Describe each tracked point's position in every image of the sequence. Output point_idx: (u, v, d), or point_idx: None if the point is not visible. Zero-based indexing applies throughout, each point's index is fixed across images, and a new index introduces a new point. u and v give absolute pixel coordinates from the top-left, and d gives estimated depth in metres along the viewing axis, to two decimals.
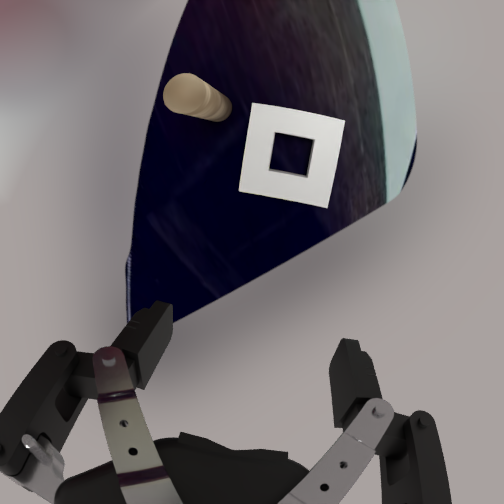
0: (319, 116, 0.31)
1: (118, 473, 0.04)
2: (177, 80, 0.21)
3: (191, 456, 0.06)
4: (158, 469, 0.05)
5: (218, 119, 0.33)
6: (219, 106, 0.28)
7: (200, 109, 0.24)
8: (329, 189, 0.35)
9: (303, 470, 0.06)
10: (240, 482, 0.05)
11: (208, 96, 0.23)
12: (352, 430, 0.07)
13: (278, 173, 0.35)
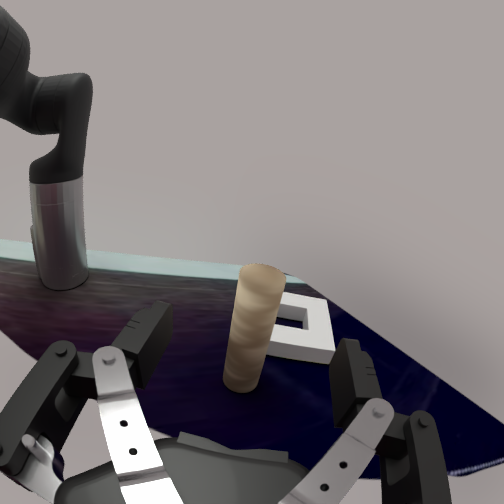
0: None
1: (118, 473, 0.04)
2: (247, 276, 0.23)
3: (191, 456, 0.06)
4: (158, 469, 0.05)
5: None
6: None
7: None
8: (311, 298, 0.43)
9: (303, 470, 0.06)
10: (240, 482, 0.05)
11: None
12: (352, 430, 0.07)
13: (309, 324, 0.37)
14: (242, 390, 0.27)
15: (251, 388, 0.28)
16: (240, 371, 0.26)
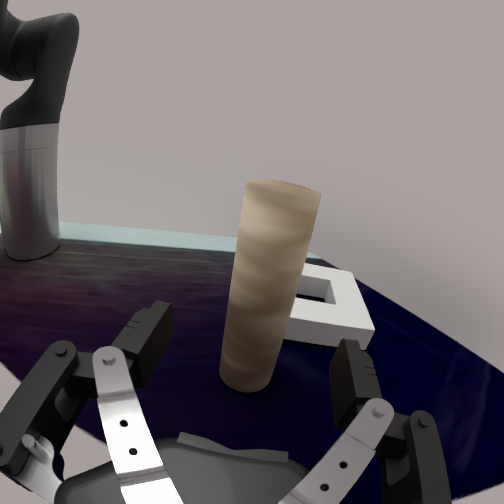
0: None
1: (118, 473, 0.04)
2: (258, 184, 0.14)
3: (191, 456, 0.06)
4: (158, 469, 0.05)
5: None
6: None
7: None
8: (333, 269, 0.34)
9: (303, 470, 0.06)
10: (240, 482, 0.05)
11: None
12: (352, 430, 0.07)
13: (336, 297, 0.28)
14: (249, 388, 0.18)
15: (262, 385, 0.18)
16: (246, 357, 0.17)
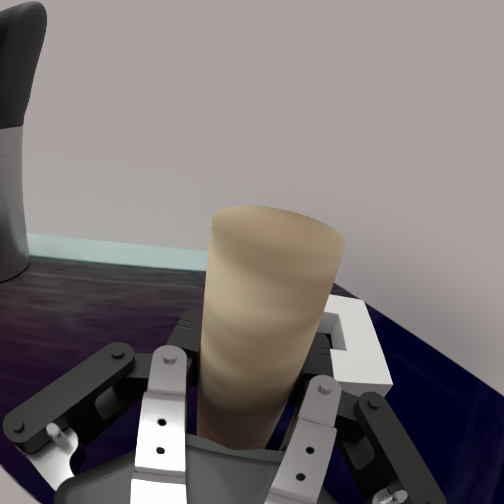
0: None
1: (136, 466, 0.05)
2: (233, 225, 0.08)
3: (191, 456, 0.06)
4: (178, 474, 0.05)
5: None
6: None
7: None
8: (342, 297, 0.28)
9: None
10: (240, 482, 0.05)
11: None
12: (305, 413, 0.07)
13: (346, 340, 0.21)
14: None
15: None
16: None
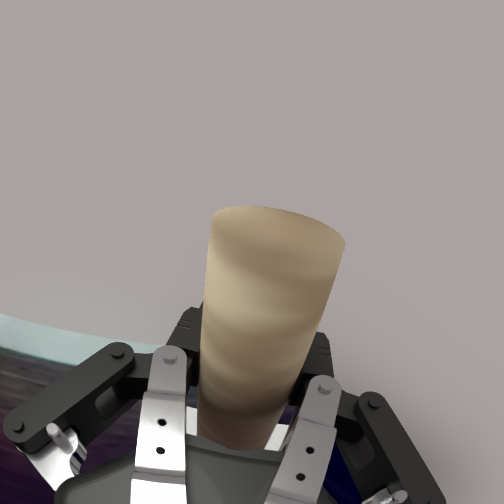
0: None
1: (137, 466, 0.05)
2: (232, 226, 0.08)
3: (191, 456, 0.06)
4: (178, 474, 0.05)
5: None
6: None
7: None
8: None
9: None
10: (240, 482, 0.05)
11: None
12: (305, 413, 0.07)
13: None
14: None
15: None
16: None
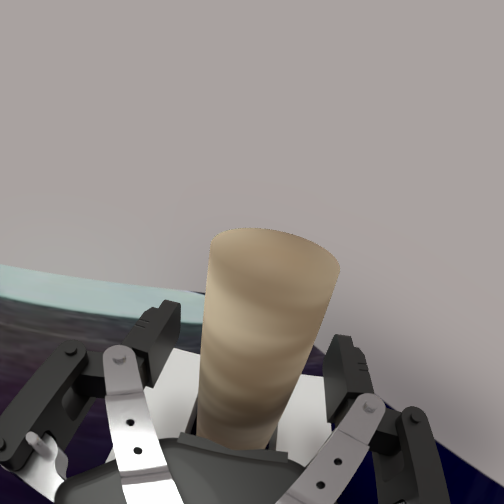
0: None
1: (121, 471, 0.04)
2: (230, 253, 0.08)
3: (191, 456, 0.06)
4: (162, 470, 0.05)
5: None
6: None
7: None
8: None
9: (303, 470, 0.06)
10: (240, 482, 0.05)
11: None
12: (344, 426, 0.07)
13: None
14: None
15: None
16: None
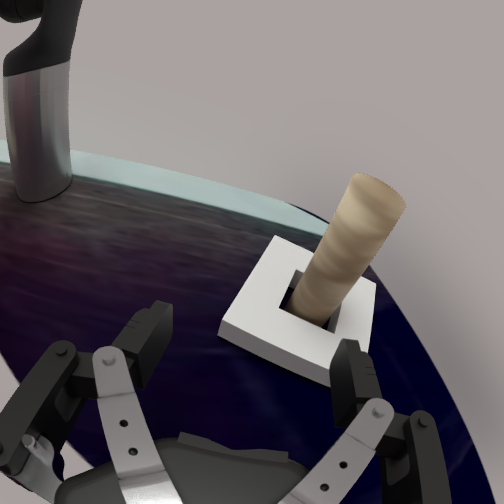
0: (266, 254, 0.27)
1: (118, 473, 0.04)
2: (362, 186, 0.16)
3: (191, 456, 0.06)
4: (158, 469, 0.05)
5: None
6: None
7: None
8: None
9: (303, 470, 0.06)
10: (240, 482, 0.05)
11: None
12: (352, 430, 0.07)
13: (339, 322, 0.23)
14: None
15: None
16: (312, 307, 0.22)
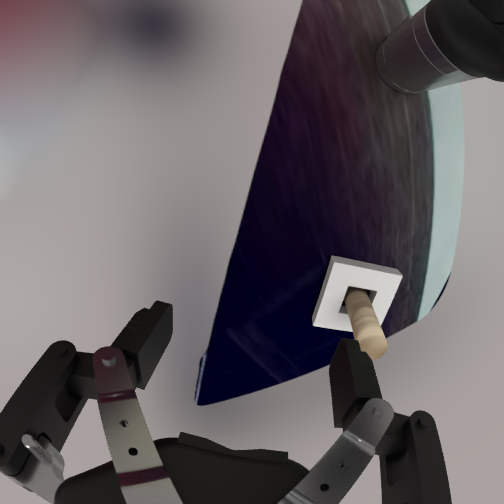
0: (384, 273, 0.40)
1: (118, 473, 0.04)
2: (371, 342, 0.31)
3: (191, 456, 0.06)
4: (158, 469, 0.05)
5: None
6: None
7: None
8: (380, 323, 0.43)
9: (303, 470, 0.06)
10: (240, 482, 0.05)
11: None
12: (352, 430, 0.07)
13: (345, 314, 0.43)
14: None
15: None
16: (347, 303, 0.41)
